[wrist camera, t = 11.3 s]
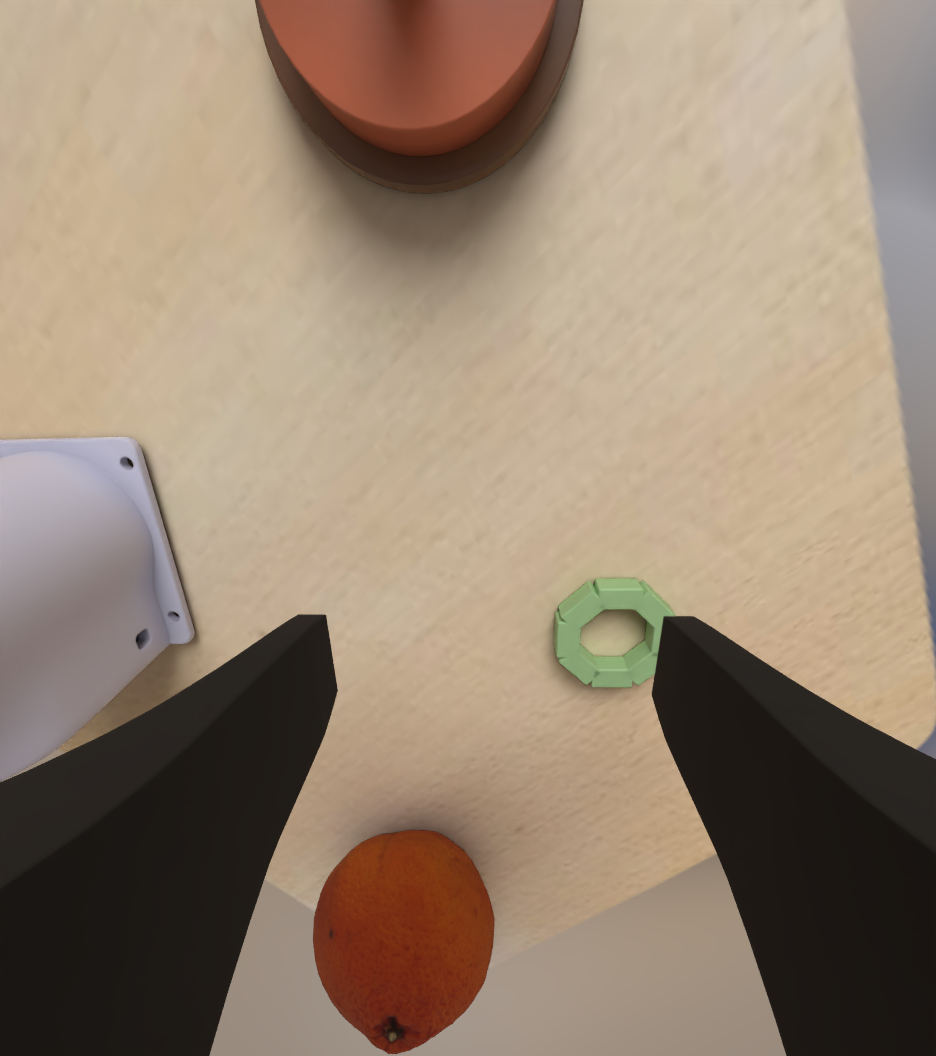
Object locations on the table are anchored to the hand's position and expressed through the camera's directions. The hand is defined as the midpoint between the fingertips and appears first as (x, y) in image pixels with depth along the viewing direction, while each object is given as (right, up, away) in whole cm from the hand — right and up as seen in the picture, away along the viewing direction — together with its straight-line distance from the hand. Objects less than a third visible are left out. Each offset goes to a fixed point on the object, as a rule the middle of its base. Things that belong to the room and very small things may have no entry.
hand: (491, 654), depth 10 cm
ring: (+6, -2, +11) cm, 12 cm away
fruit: (-4, -16, +17) cm, 24 cm away
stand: (-2, +18, +3) cm, 18 cm away
